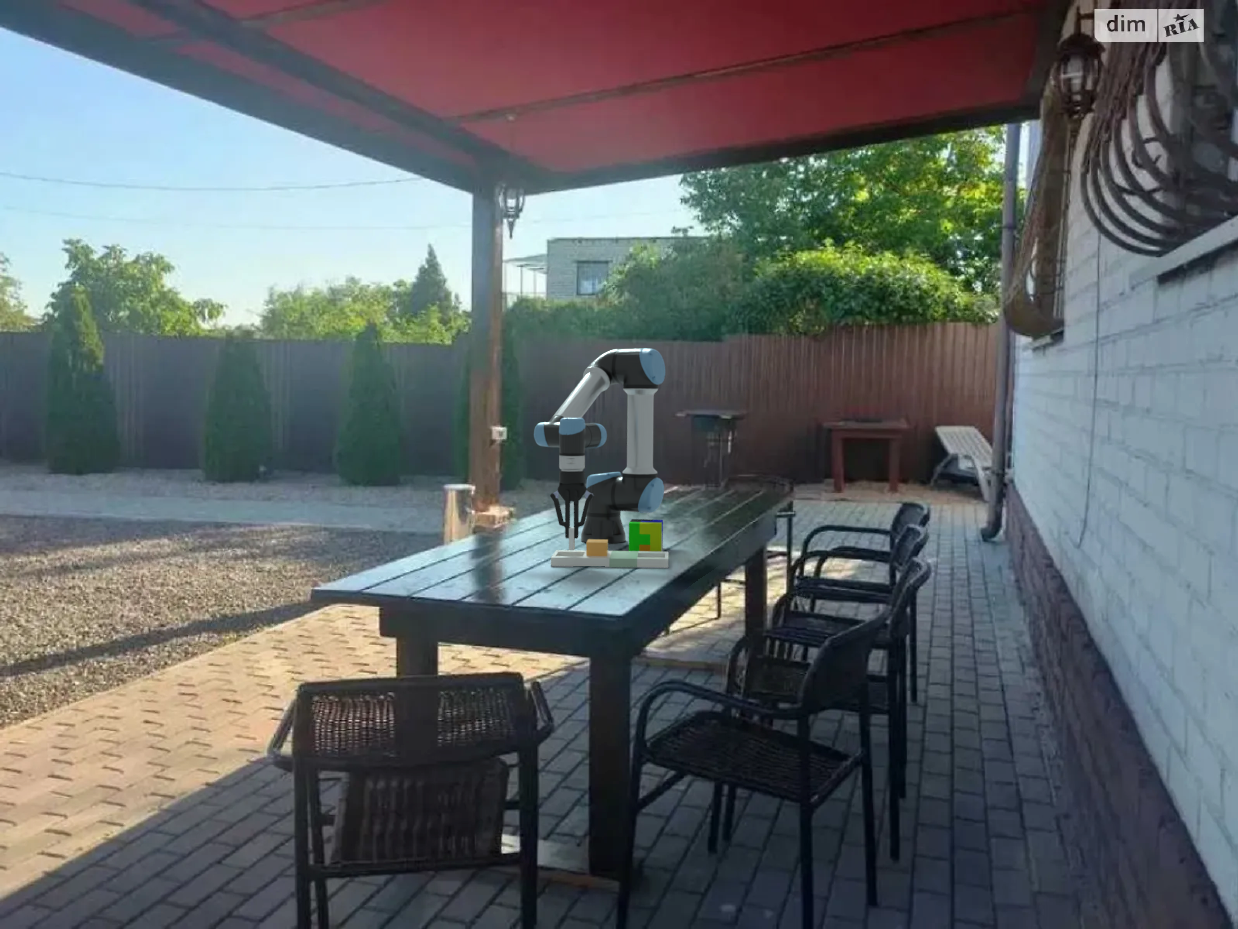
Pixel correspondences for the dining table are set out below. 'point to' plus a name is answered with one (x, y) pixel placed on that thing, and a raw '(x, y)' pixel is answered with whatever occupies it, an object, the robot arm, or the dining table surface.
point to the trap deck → (611, 559)
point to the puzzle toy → (645, 535)
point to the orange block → (596, 547)
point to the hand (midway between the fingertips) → (571, 549)
